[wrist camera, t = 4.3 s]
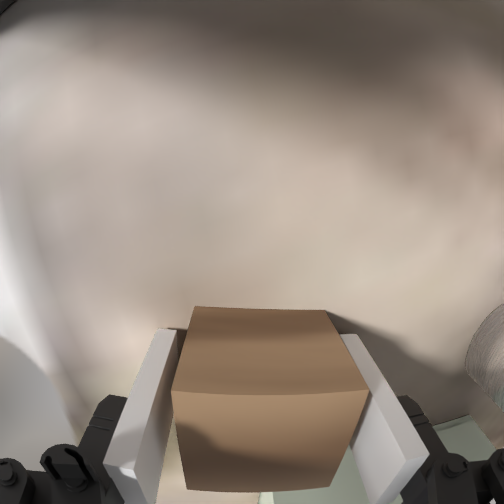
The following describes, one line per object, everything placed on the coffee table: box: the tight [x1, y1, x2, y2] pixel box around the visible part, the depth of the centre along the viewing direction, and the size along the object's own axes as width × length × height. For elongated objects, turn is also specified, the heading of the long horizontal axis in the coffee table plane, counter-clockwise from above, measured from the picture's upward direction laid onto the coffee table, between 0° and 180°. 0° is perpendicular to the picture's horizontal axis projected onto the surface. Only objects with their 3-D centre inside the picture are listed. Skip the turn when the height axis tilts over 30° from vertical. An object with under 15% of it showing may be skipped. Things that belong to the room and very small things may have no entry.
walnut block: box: [171, 306, 370, 492], centre depth 10 cm, size 5×5×5 cm
